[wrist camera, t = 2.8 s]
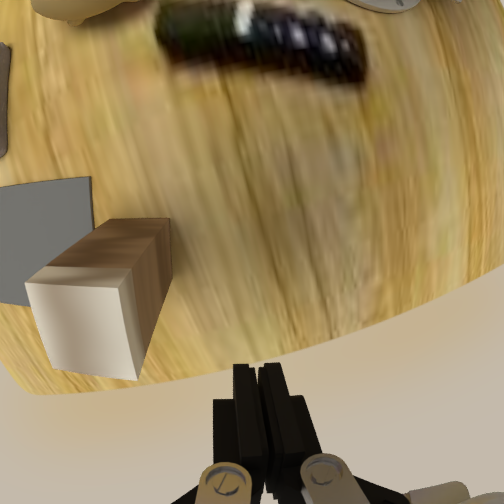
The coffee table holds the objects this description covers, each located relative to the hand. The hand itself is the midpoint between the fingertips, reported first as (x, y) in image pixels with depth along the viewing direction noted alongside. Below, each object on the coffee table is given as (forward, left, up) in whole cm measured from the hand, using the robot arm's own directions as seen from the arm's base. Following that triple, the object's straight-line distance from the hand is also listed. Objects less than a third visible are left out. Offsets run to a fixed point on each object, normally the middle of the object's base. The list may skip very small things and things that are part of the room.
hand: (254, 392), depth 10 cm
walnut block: (+8, -1, -14) cm, 16 cm away
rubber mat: (+19, -1, -14) cm, 24 cm away
